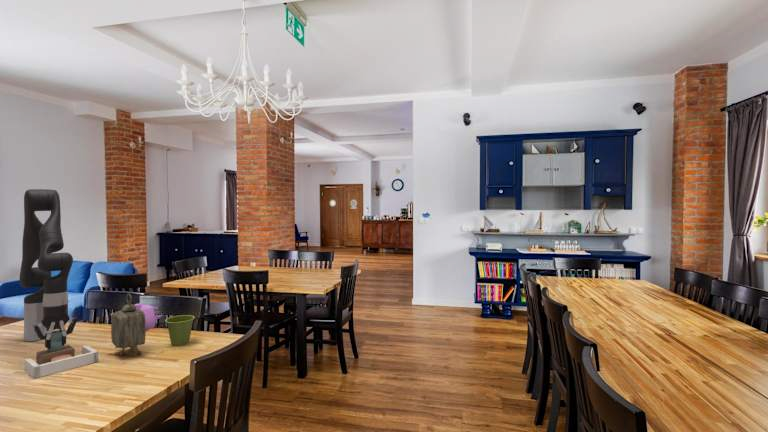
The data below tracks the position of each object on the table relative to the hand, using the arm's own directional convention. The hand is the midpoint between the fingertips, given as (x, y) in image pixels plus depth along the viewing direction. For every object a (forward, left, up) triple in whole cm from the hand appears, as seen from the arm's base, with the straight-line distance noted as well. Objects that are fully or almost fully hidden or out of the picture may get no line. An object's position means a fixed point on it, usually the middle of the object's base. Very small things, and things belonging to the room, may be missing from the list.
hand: (55, 346), depth 151 cm
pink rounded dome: (+7, 0, -6) cm, 9 cm away
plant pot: (+19, +39, -6) cm, 44 cm away
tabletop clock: (+14, +20, -6) cm, 25 cm away
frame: (+8, 0, -6) cm, 10 cm away
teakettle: (-22, +38, -6) cm, 44 cm away
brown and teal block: (0, 0, -5) cm, 5 cm away
